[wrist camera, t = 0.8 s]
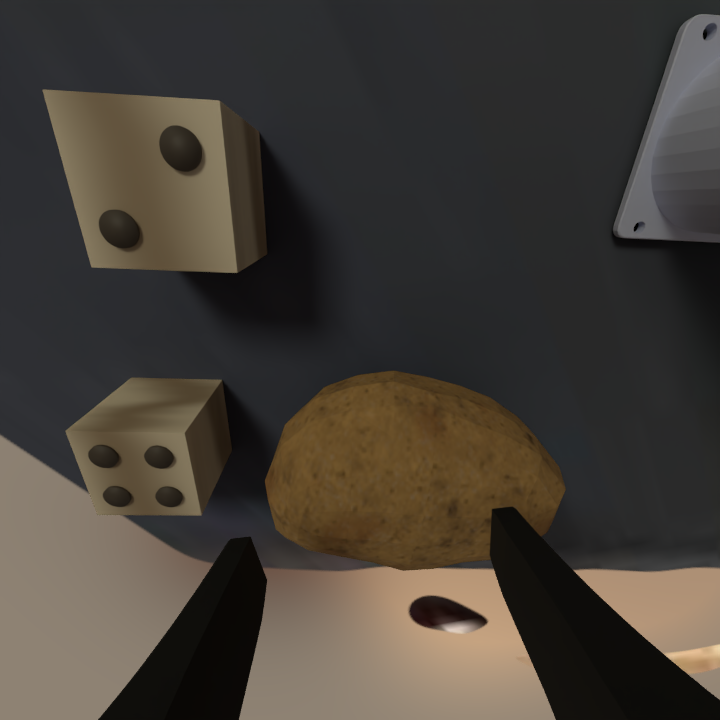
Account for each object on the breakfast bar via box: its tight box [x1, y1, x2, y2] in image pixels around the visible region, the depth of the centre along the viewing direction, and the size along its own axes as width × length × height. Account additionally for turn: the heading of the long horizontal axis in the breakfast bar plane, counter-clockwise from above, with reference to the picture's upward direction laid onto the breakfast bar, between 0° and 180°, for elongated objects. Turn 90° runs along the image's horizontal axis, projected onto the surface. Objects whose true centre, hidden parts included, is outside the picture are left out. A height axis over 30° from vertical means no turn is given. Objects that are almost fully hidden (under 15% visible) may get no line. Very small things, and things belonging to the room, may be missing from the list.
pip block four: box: [66, 378, 232, 515], centre depth 18 cm, size 5×5×5 cm
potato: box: [265, 371, 566, 570], centre depth 17 cm, size 10×14×8 cm
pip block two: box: [43, 90, 267, 273], centre depth 13 cm, size 5×5×5 cm
